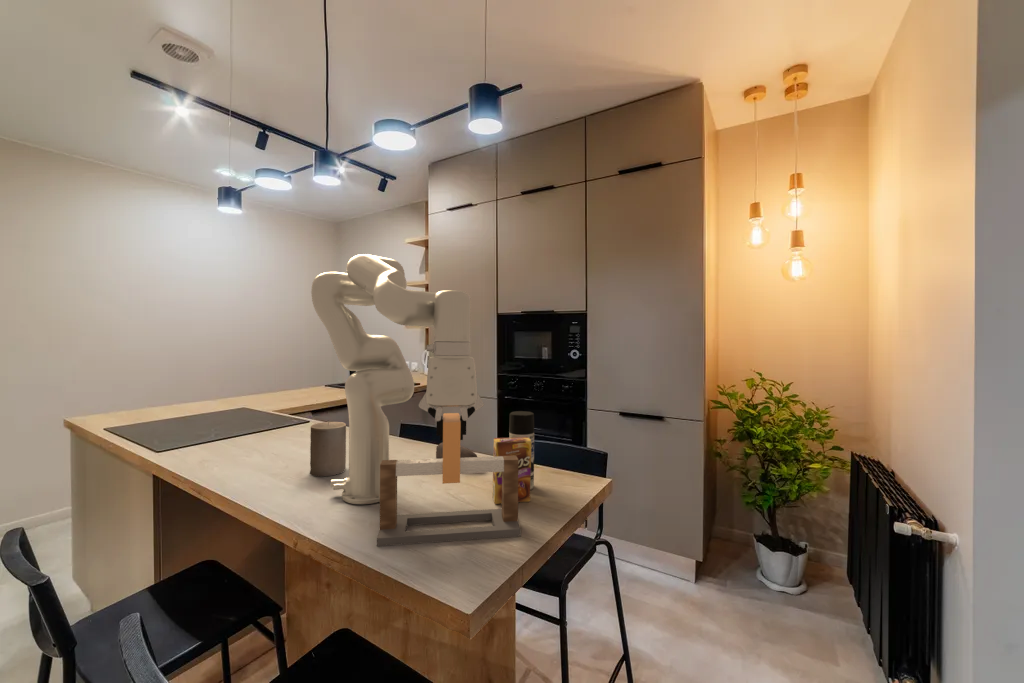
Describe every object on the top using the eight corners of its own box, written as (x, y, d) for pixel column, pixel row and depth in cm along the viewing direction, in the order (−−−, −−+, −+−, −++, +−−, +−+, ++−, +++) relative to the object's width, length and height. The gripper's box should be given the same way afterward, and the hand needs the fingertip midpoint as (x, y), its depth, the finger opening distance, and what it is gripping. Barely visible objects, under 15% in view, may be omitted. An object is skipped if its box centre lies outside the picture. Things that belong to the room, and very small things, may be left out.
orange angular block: (459, 482, 80) (460, 422, 80) (442, 483, 80) (443, 422, 79) (458, 467, 90) (458, 413, 89) (442, 467, 89) (443, 413, 89)
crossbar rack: (376, 546, 78) (377, 470, 77) (384, 522, 87) (384, 455, 87) (520, 536, 82) (521, 464, 82) (512, 514, 92) (513, 450, 92)
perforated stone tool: (483, 470, 123) (483, 447, 122) (473, 475, 118) (473, 451, 118) (445, 461, 130) (445, 439, 130) (434, 465, 126) (434, 443, 126)
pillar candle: (302, 474, 117) (302, 422, 116) (328, 464, 126) (328, 416, 126) (328, 478, 113) (328, 425, 113) (353, 468, 122) (353, 418, 122)
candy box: (495, 505, 97) (495, 441, 97) (491, 498, 101) (492, 437, 101) (530, 502, 99) (531, 440, 99) (526, 495, 103) (527, 435, 103)
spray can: (531, 493, 105) (532, 415, 104) (506, 490, 106) (507, 414, 106) (535, 484, 111) (536, 411, 111) (511, 482, 112) (512, 410, 112)
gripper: (409, 351, 79) (408, 444, 79) (493, 351, 82) (492, 442, 82) (412, 349, 87) (412, 435, 87) (489, 350, 89) (488, 433, 90)
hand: (451, 437), depth 84 cm, fingers closed on orange angular block, 3 cm apart
